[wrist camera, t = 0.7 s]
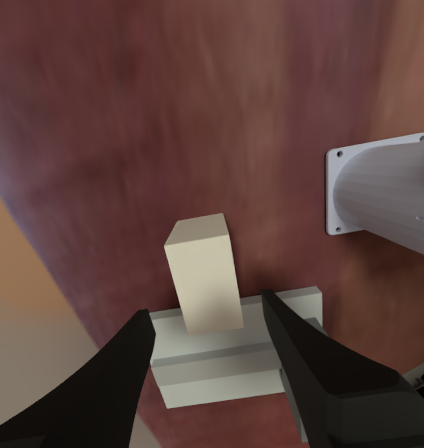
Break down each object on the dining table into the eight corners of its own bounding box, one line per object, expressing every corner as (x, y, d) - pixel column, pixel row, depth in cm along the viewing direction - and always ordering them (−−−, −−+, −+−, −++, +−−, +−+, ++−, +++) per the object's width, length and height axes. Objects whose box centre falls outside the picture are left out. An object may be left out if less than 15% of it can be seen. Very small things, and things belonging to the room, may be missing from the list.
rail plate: (315, 286, 22) (366, 343, 15) (317, 376, 26) (358, 454, 19) (139, 314, 22) (108, 382, 15) (169, 397, 26) (155, 480, 20)
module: (222, 213, 19) (229, 234, 13) (235, 289, 22) (245, 335, 16) (177, 221, 19) (163, 245, 13) (195, 296, 22) (190, 343, 16)
